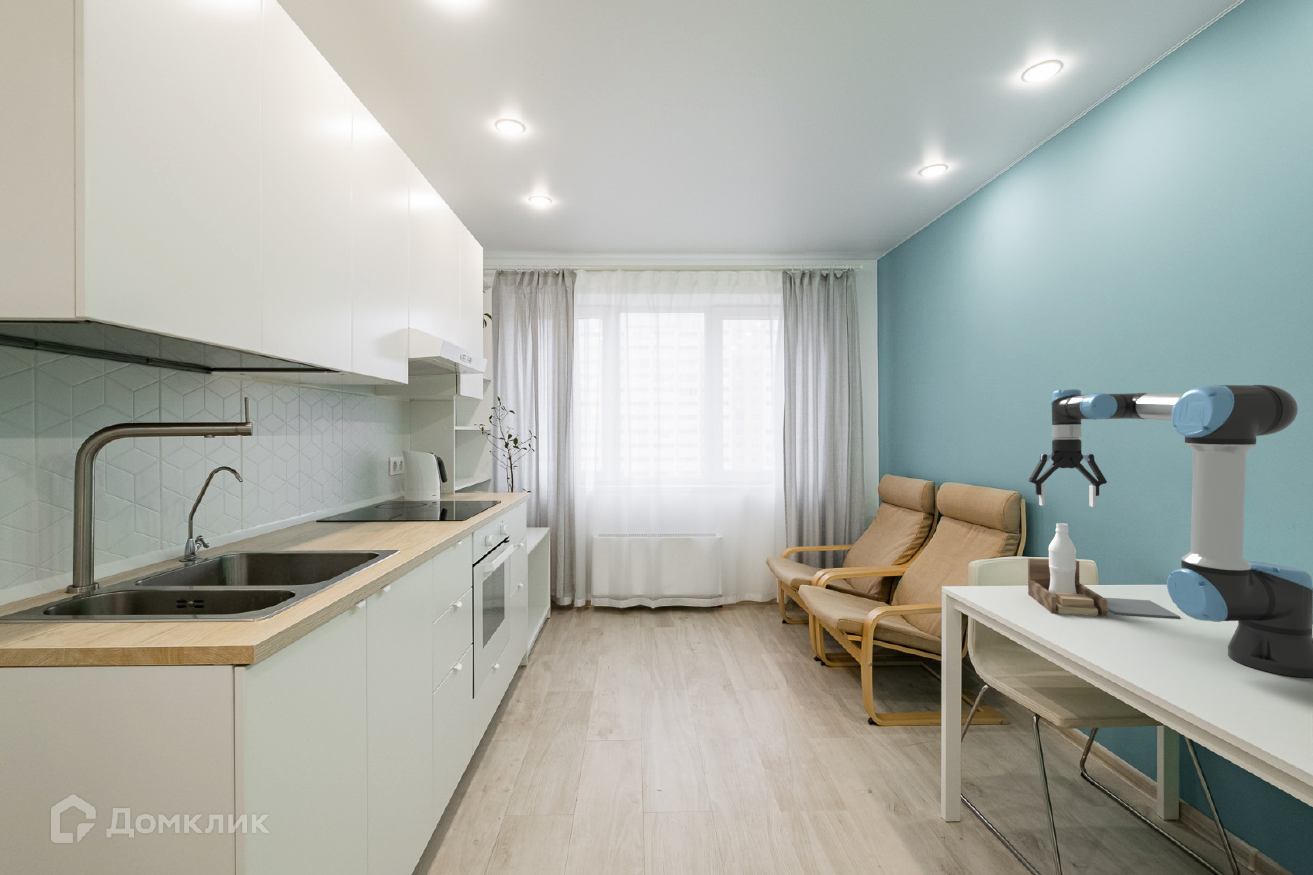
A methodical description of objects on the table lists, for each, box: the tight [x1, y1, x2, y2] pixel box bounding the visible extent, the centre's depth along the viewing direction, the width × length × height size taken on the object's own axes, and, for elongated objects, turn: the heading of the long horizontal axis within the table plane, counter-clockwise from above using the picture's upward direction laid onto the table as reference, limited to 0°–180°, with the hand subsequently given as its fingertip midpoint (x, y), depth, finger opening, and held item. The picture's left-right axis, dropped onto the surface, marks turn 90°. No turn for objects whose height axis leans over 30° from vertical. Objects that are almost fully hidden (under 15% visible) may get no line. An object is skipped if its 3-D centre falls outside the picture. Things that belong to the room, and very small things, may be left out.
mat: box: [1104, 597, 1181, 620], centre depth 172 cm, size 16×16×1 cm
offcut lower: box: [1056, 602, 1099, 616], centre depth 171 cm, size 7×10×2 cm
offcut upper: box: [1054, 593, 1094, 609], centre depth 171 cm, size 6×8×2 cm
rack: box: [1027, 557, 1108, 617], centre depth 176 cm, size 20×14×12 cm
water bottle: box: [1048, 522, 1077, 595], centre depth 178 cm, size 7×7×25 cm
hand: (1066, 506), depth 178 cm, fingers open, 13 cm apart
